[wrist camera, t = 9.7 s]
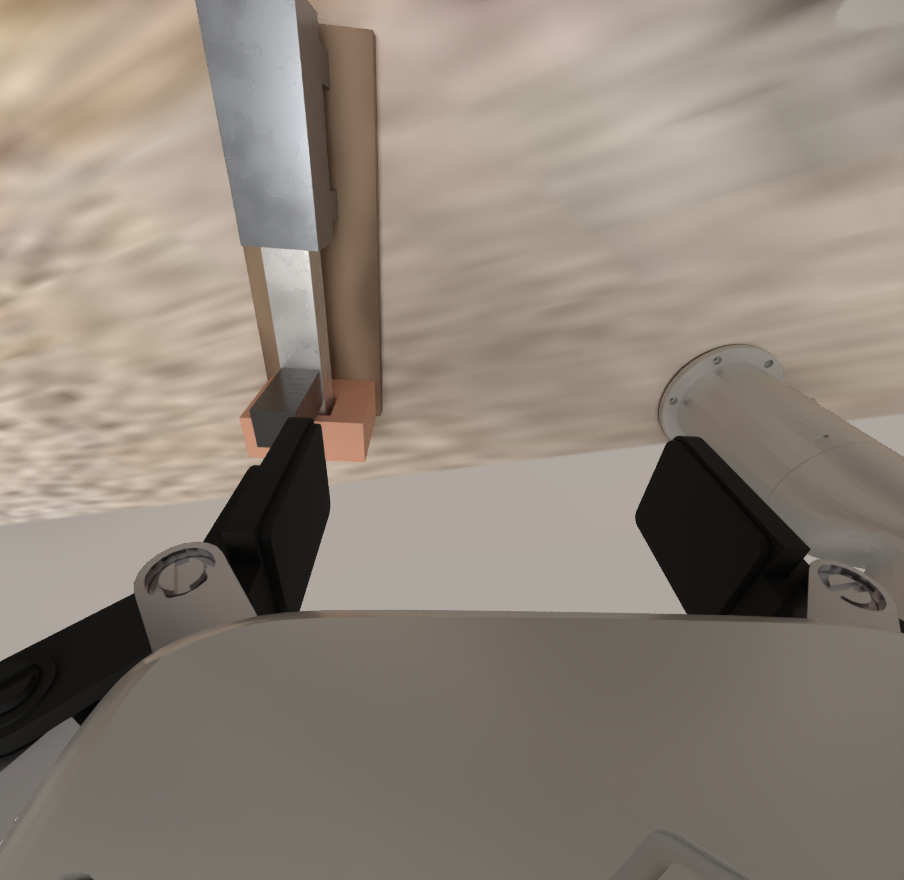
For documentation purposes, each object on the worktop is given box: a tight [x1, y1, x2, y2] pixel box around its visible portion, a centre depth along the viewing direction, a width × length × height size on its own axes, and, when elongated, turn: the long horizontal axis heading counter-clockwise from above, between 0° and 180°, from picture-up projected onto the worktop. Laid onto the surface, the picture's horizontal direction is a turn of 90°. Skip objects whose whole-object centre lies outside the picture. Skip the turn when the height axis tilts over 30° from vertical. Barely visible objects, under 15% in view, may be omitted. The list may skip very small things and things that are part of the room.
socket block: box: [240, 376, 376, 462], centre depth 38 cm, size 10×4×8 cm, turn 86°
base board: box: [243, 24, 382, 416], centre depth 35 cm, size 11×30×2 cm, turn 176°
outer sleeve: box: [195, 0, 339, 251], centre depth 27 cm, size 5×12×8 cm, turn 176°
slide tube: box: [249, 247, 334, 448], centre depth 30 cm, size 3×19×10 cm, turn 176°
